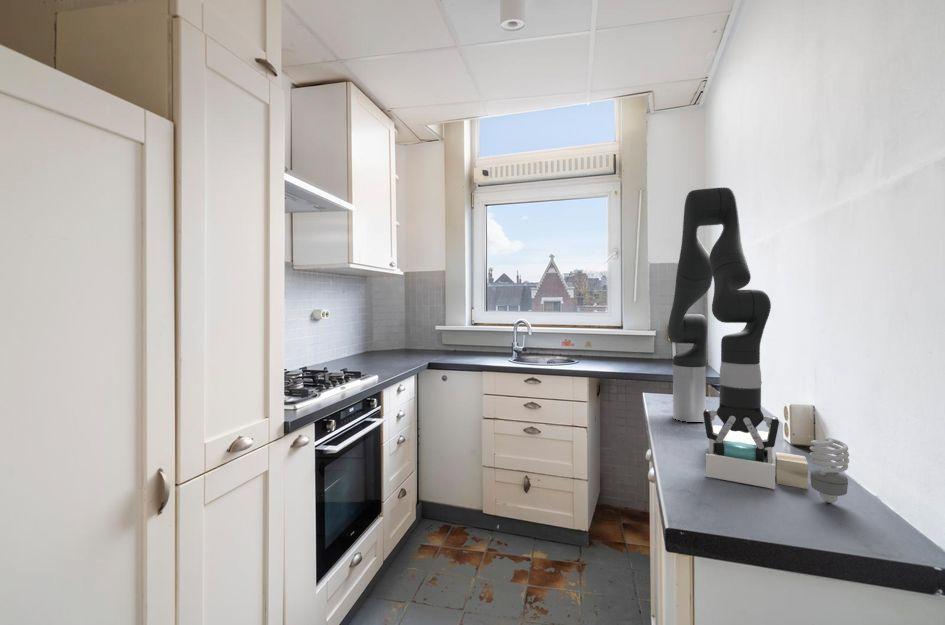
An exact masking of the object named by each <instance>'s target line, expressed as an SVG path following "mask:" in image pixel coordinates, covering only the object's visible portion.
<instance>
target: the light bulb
mask: <svg viewBox="0 0 945 625" xmlns="http://www.w3.org/2000/svg"><path fill="white" fill-rule="evenodd" d="M810 444H811V445H812V446H810V447H809V450H810V451H811V452H810V453H809V457H811V458H810V463H812V464H813V465H817V466H822V467H826V468H822V469H821V468H816V469H813V470H810V474H809V475H810V478H809V479H810V485H811V488H812V489H814V490H815V491H817V492H819V497H820V499H821V500H822V501H824V502H825V503H827V504H834V503H836V502H838V499H839V498H838V497H841V496H842V497H843V496H845V495H847V493H848V485H849V479H848V477H847V476H846V475H845V474H843V472H845V471H847V470H848V469H849V463H850V458H849V456H850V453H849V446H848V445H847V444H846V443H845V442H843V441H840V440H837V439H835V438H831V437H827V436H826V437H824V441H822V440H816V439H814V440H811V441H810ZM827 467H828V468H827ZM829 467H830V468H829Z"/></svg>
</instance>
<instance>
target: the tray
mask: <svg viewBox="0 0 945 625" xmlns="http://www.w3.org/2000/svg"><path fill="white" fill-rule="evenodd" d="M705 477H708V478H713V479H719V480H723V481H724V480H725V481H729V482H734V483H740V484H745V485H751V486H757V487H761V488H767V489H768V488H769V489H772V490H775V489H776V476H775V463H772V464H771V463H766V456H764V462H758V461H756V459H755V460H746V459H739V458H733V457H728V456H726V455H724V456H720V455H716V449H715V453H714V454H709V452H708V453H705Z"/></svg>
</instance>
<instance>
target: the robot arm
mask: <svg viewBox="0 0 945 625" xmlns="http://www.w3.org/2000/svg"><path fill="white" fill-rule="evenodd" d="M739 218H740V217H739V211H738V203H737V198H736V196H735V193H734V191H733V190H732V189H731V188H730V187H709V188H701V189H700V188H698V189H694V190H690V191H689V192H688V194H687V195H686V197H685V201H684V207H683V221H682V236H681V237H682V238H681V246H680V247H681V248H680V252H679V258H678V264H677V270H676V276H675V277H676V278H675V287H674V297H673V301H672V307H671V311H670V314H669V320H668V324H667V325H668V326H667V336H668V339H669V341H670V342H671V343H674V344H685V345H686V344H688V345H690V344H693V346H692V347H691V348H689V349H688V350H687V351H684V352H681V353H677V354H675V355H674V356H673V357H672V358H673V359H672V369H673V370H672V419H673V420H675V419H676V420H675V421H678V420H680V421H679V422H682V421H686V422H685V423H687V422H703V423H704V428H705V433H706V438H707V439H713V440H715V441H716V443H717V449H716V455H720V456H724V441H723V440H724V438H725V436H726V435H727V433H728V432H729V430H731V431H741V432H744V433H748V432H750V434H751V436H752V438H753V440H754V441H755V443H756V445H757V446H756V461H758V462H764V449H765V448H767V447H772V448H774V447H775V445H776V441H777V435H778V429H779V425H780V421H779V418H778V417H777V416H767V415H764V414H763V412H762V383H763V382H762V372H761V364H760V362H761V361H760V360H761V359H760V358H761V342H762V338H763V334H764V331H765V327H766V324H767V322H768V319H769V317H770V313H771V310H772V309H771V307H772V302H771V300H770V297H769V295H768V294H767V293H766V292H765V291H763V290H761V289H743V288H745V287H746V286H748V284H749V283H750V282H751V273H750V272H751V271H750V269H749V265H748V262H747V260H746V259H747V258H746V256H745V253H744V250H743V245H742V238H741V237H742V236H741V226H740V219H739ZM720 225H721V226H722V232H721V233H720V236H718V238H717V240H716V241H715V243H714V244H713V246H712V248H711V250H710V253H709V252H708V251H707V249H706V248H705V247H704V245H703V243H702V242H701V239H700V237H699V234H698V229H699V228H700V227H707V226H720ZM712 282H713V284H714V288H713V298H712V304H711V313H712V315H713V317H714V318H715V319H716V320H717V321H719V322H721V323H724V324H731V323H734V324H735V323H736V324H738V323H740V324H741V323H742V324H743V323H745V326H744V328H743V329H742V330H741V331H739V332H736V333H730V334H725V335H724V336H722V337H721V340H720V368H719V377H718V381H719V400H718V401H719V405H718V408H717V409H715V410H714V409H711V410H710V409H708V408H707V407H706V405H707V404H706V402H707V400H706V399H707V398H706V395H707V394H706V390H707V389H706V388H707V387H706V386H707V383H706V382H707V381H706V377H707V376H706V375H707V374H706V370H707V367H706V365H707V342H708V340H707V338H708V320H707V317H705V315H703V314H698V313H695V314H692V313H690V314H689V313H687V312H688V311H689V309H690V308H691V307H692V306H693V305H694V304H695V303H697V302H698V301H699V300H700V299H701V298H702V297H703V296H704V295H705V294H706V293H708V291H709V290H710V288H711V285H712ZM716 416H717V417H718V418H719V419H720V421H721V422H722V423H723V425H721V426H722V428H721V430H720V432H719V433H718V434H716V433H714V432H713V421H714V420H715V417H716ZM762 422H765V426H766V427H767V428H769V429H768V432H769V433H768V438H767V440H762V439H761V437H760V435H759V433H758V431H759V430H758V429H757V427H758V426H760V424H761V423H762Z"/></svg>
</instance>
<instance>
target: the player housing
mask: <svg viewBox="0 0 945 625" xmlns="http://www.w3.org/2000/svg"><path fill="white" fill-rule="evenodd" d="M712 426H713V432H714V433H716V434H718V433H719V432H720V430H721V428H722V426H723V425H714V424H712ZM757 431H758V433H759V435H760V437H761V439H762V440H767V438H768V433H769V431H763V430H757ZM708 439H709V438H708ZM723 441H724V443H725V442H742V443H747V444H750V445H753V446H755V447H756V446H757V445H756V443H755V441H754V440H753V438H752V436H751V434H750V432H748V433H744V432H741V431H731V430H729V432H728V433H727V435H726V436H725V438H724V440H723ZM708 443H709V445H708V448H709V450H708V454H714V453H715V449H717V443H716V441H715V440H713V439H709V440H708ZM764 456H766V463H771V464H773V447H767V448H765V449H764Z"/></svg>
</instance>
